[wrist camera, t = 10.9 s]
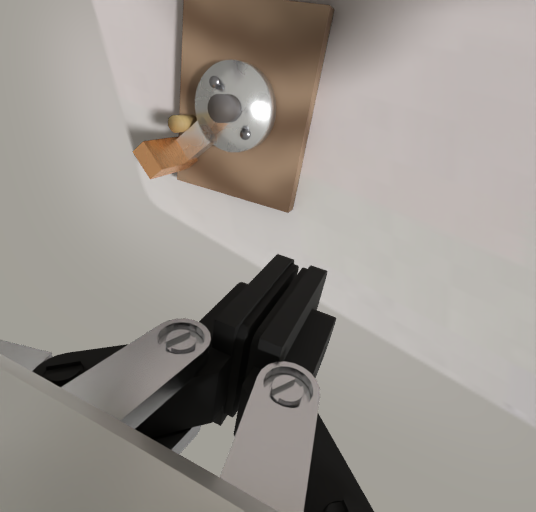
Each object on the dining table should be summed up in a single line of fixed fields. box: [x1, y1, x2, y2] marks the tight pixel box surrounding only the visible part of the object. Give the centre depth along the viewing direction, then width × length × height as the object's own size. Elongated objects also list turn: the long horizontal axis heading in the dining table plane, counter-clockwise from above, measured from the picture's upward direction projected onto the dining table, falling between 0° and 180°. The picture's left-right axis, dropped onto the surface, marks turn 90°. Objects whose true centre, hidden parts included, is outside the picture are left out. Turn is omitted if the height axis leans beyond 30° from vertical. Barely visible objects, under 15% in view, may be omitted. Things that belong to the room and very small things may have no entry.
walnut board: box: [168, 0, 334, 213], centre depth 32 cm, size 18×14×6 cm
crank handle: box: [133, 60, 276, 179], centre depth 32 cm, size 13×8×6 cm, turn 124°
